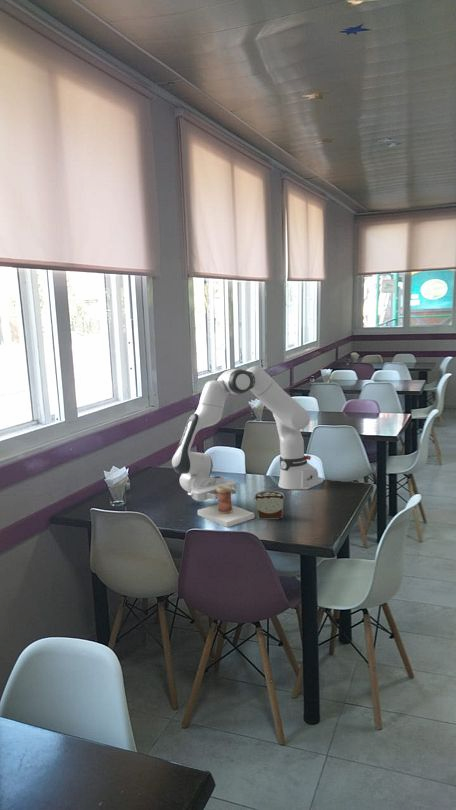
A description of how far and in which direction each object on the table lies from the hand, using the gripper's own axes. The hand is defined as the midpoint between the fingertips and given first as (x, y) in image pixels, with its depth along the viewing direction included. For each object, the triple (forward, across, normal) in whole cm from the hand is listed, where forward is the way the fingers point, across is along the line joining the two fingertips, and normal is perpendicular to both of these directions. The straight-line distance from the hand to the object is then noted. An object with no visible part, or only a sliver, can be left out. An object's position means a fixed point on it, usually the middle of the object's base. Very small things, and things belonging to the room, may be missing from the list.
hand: (225, 494), depth 230 cm
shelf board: (-1, 0, +10) cm, 10 cm away
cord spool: (-1, 0, +8) cm, 8 cm away
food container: (+12, +13, +10) cm, 20 cm away
